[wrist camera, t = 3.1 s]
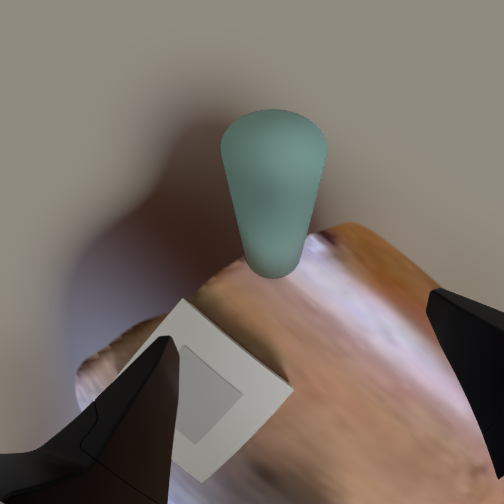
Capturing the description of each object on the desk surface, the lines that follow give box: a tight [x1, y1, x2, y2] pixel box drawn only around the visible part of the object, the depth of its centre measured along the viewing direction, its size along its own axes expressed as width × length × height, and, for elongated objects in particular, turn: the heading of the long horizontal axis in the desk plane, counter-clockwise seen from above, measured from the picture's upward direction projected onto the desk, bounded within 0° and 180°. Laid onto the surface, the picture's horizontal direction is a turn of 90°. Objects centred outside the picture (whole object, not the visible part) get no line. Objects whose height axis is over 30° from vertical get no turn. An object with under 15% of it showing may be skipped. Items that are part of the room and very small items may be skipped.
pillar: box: [220, 109, 327, 279], centre depth 18 cm, size 5×5×13 cm
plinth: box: [112, 298, 294, 483], centre depth 19 cm, size 10×10×3 cm
